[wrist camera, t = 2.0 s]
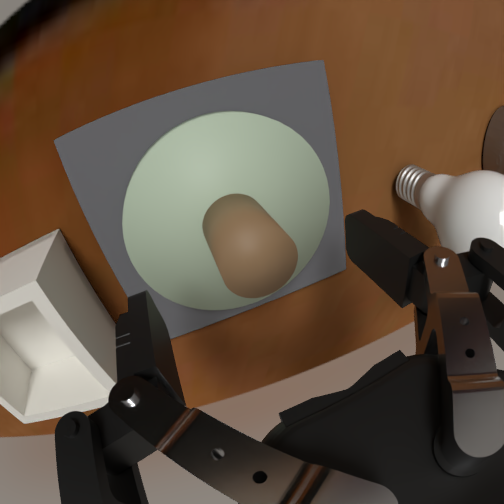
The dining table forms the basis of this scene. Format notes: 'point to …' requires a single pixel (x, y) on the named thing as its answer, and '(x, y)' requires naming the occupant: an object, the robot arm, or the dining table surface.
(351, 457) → the robot arm
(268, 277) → the lid
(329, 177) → the mat
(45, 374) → the open box
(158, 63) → the dining table surface
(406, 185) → the lightbulb
